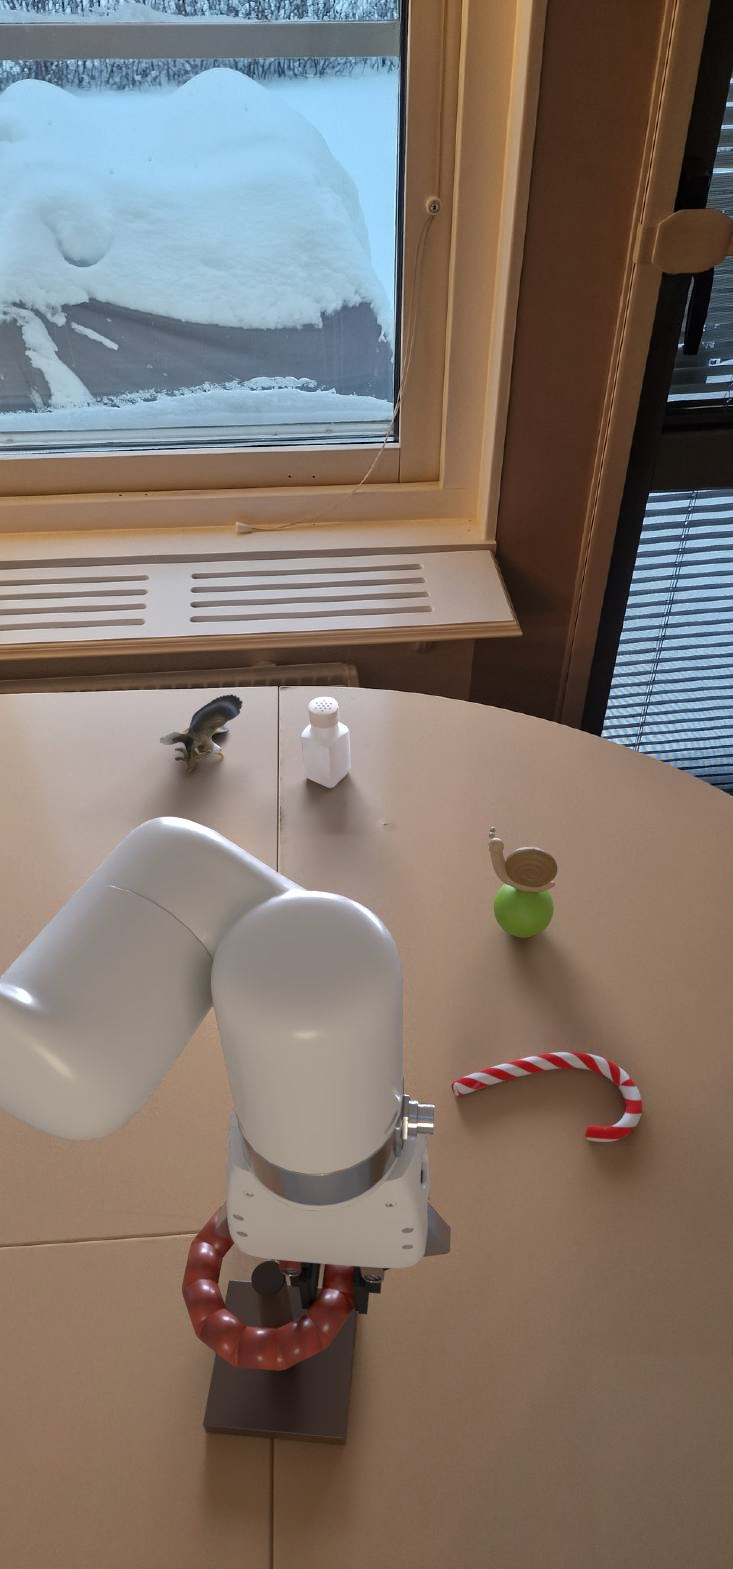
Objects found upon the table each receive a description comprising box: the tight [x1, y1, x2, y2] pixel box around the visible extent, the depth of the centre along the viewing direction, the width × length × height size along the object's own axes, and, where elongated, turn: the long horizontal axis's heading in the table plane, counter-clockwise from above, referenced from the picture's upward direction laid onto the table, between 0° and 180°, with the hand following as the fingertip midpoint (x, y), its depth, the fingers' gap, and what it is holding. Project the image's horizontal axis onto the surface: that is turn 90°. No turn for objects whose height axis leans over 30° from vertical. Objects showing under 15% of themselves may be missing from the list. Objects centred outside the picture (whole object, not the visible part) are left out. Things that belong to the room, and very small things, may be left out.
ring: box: [181, 1206, 354, 1371], centre depth 60 cm, size 10×10×2 cm
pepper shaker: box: [300, 696, 352, 789], centre depth 110 cm, size 4×4×10 cm
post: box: [202, 1260, 358, 1446], centre depth 65 cm, size 9×9×14 cm
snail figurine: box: [487, 826, 558, 938], centre depth 93 cm, size 5×6×12 cm
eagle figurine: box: [159, 694, 244, 774], centre depth 114 cm, size 8×7×9 cm
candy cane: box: [451, 1051, 643, 1143], centre depth 83 cm, size 8×1×15 cm
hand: (337, 1283), depth 60 cm, fingers closed on ring, 2 cm apart
